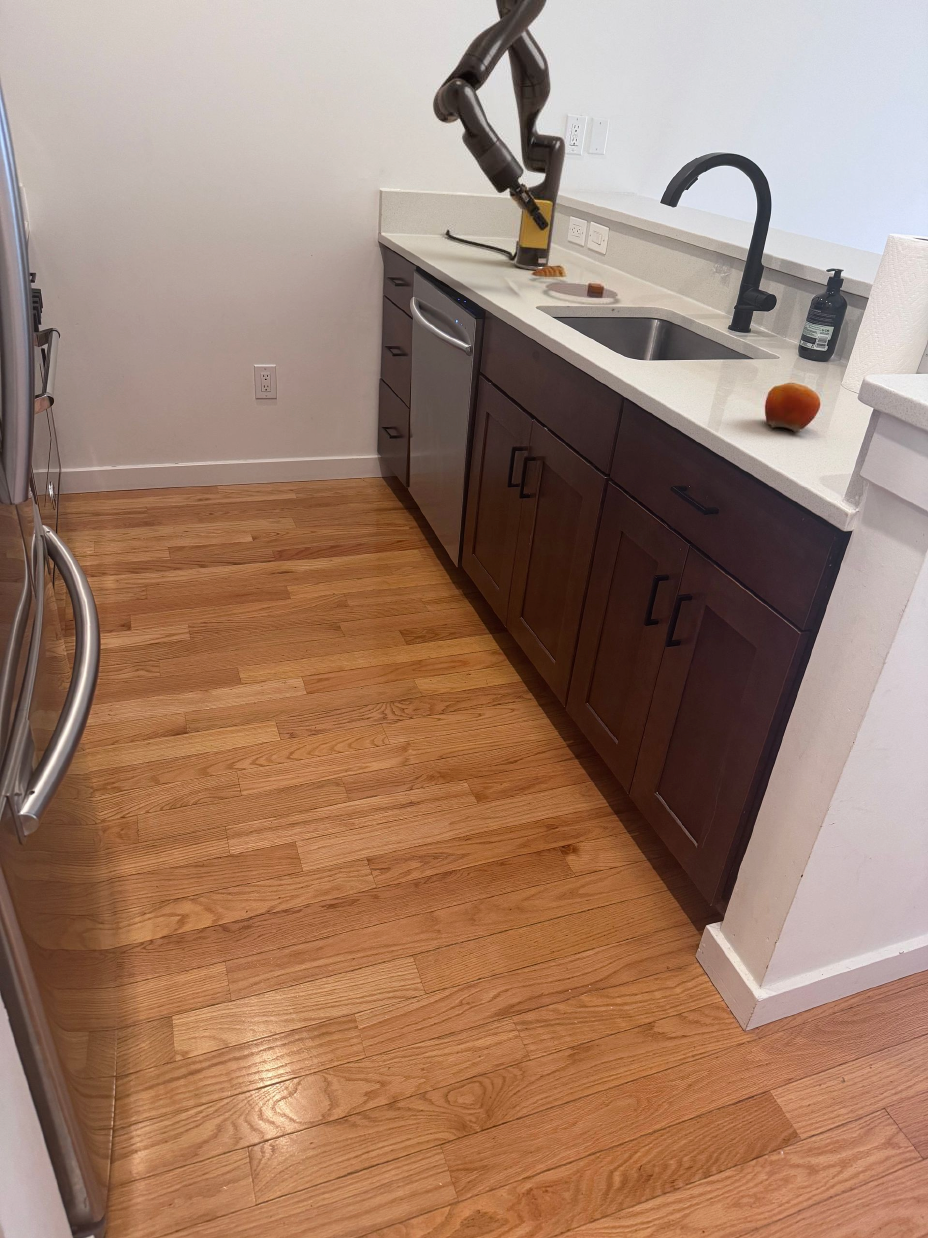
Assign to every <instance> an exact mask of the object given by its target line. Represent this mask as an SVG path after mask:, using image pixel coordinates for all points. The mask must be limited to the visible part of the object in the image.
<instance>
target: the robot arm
mask: <svg viewBox="0 0 928 1238" xmlns="http://www.w3.org/2000/svg"><path fill="white" fill-rule="evenodd" d="M547 1H548V0H495V5H496V9H497V14H498V18H499V20H498V21H497V22H495V23H493V24H491V25H490V26H489V27H487V28H485V30H483V31H481V32H480V33H479V34H478V35H477V36H476V37H475V38H474V39H473V40H472V41H471V43H470V44H469V45H468V47H467V49H466V50H465V51H464V53H463V55H462V57H461V58H460V60H459V61H458V63H457V65H456V67H455V68H454V69H453V71H452V72H451V73H450V74H449V75H448V76H447V78H446V79H445V80H444V81H443V83H442V84H441V86H440V87H439V88H438V90H437V91H436V92H435V94H434V97H433V101H432V109H433V113H434V115H435V118H437V119H438V120H439V121H440V122H441V123H443V124H452V123H455V122H457V121H458V120H460V121H459V122H461V125H462V127H463V128H464V131H463V132H462V135H461V139H462V142H463V144H464V146H465V147H466V149H467V150H468V151H469V153H470V154H471V155H472V157H473V158H474V160H475V162H476V163H477V164H478V166H479V168H480V170H481V171H482V173H483V174H484V175H485V177H486V178H487V179H488V181H489V183H490V184H491V185H492V186H493V188H494V189H495V191H496V192H497V193H498V194H502V193H504V192H506V191H508V190H509V191H508V192H509V197H510V199H511V200H513V202H515V204H516V205H517V207H518V208H519V209H520V210H521V214H520V224H519V232H518V240H516V243H515V251H514V254H513V253H512V252H511V251H509V250H506V249H504V248H500V247H498V246H492V245H490V244H485V243H480V242H476V241H472V240H468V239H463V238H461V237H457V236H454V235H452V234H451V230H450V229H449V230H450V231H449V230H448V229H446V232H445V235H446V236H447V238H449V239H451V240H454V241H457V242H460V243H463V244H467V245H471V246H476V247H479V248H485V249H488V250H493V251H496V252H500V253H503V254H505V255H508V256H509V260H510V261H512V262H514V261H515V266H516V267H517V268H520V269H524V270H530V271H536V270H537V269H541V268H542V267H544V266H549V262H550V255H551V247H552V239H553V232H554V224H555V217H556V209H557V202H558V201H557V200H558V196H559V192H560V185H561V180H562V174H563V169H564V168H563V167H564V164H565V158H566V157H565V156H566V143H565V140H564V138H563V137H561V136H558V135H551V134H543V133H539V132H538V129H537V121H538V119H539V116H540V114H541V112H542V111H543V109H544V107H545V106H546V104H547V102H548V100H549V97H550V95H551V90H552V89H551V88H552V85H551V77H550V76H551V75H550V68H549V67H550V66H549V63H548V60H547V57H546V55H545V53H544V51H543V50H542V48H541V47H540V45H539V43H538V42H537V40H536V39H535V37H534V36H533V34H532V33H531V31H530V29H529V27H530V26H531V25H532V24H533V23H534V22H535V20H536V19H537V18H538V17H539V16H540V15H541V14H542V11H543V10H544V8H545V7H546V5H547V4H546V3H547ZM506 52H507V56H508V60H509V66H510V67H509V68H510V75H511V81H512V88H513V94H514V99H515V103H516V104H515V105H516V111H517V117H518V125H519V139H520V152H521V153H520V154H521V160H522V161H521V162H522V165H523V167H524V168H523V167H522V165H521V163H520V162H519V161H518V160H517V158H516V157H515V155H514V154H513V152H512V151H511V150H510V148H509V147H508V145H507V144H506V143H505V142H504V140H503V139H502V138H501V137H500V136H499V135H498V133H497V132H496V130H495V129H494V127H493V126H492V125H491V123H490V122H489V121H488V118H487V115H486V112H485V109H484V107H483V104H482V102H481V100H480V98H479V95H478V93H477V91H478V90H480V89H481V88H482V87H483V86H484V85H485V83H486V82H487V81H488V79H489V78H490V76H491V74H492V72H493V71H494V69H495V68H496V66H497V64H498V63H499V61H500V60H501V59H502V57H503V56H504V55H505V53H506ZM524 169H525V170H526V171H527V172H530V173H534V174H535V173H536V174H542V175H544V179H543V180H542V181H541V182H540V183H538V184H536V185H533V186H532V185H531V186H528V187H527V185H526V184H524V183H523V182H522V183H520V181H519V180H520V178H522V176H523V175H524ZM535 200H546V201H550V202H552V203H553V204H552V212H551V219H550V227H549V234H548V242H547V249H545V248H533V247H522V246H521V245H520V244H519V239H520V230H521V221H522V213H523V211H527V212H528V214H529V215H530V217H531V218H532V219H533V220H534V221H535V223H536V224H537V226H538V227H539V228H540V230H542V231H543V230H544V229H545V228H547V227H548V225H549V224H548V222H547V221H546V220H545V218H544V217H543V215H542V214H541V212H540V209H539V206H537V204H536V203H535ZM532 205H533V206H534V207H535V208H534V209H533V210H532V211H530V210H529V208H530V207H531V206H532Z"/></svg>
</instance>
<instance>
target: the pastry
mask: <svg viewBox="0 0 928 1238" xmlns="http://www.w3.org/2000/svg"><path fill="white" fill-rule="evenodd" d="M566 274H567V273H566V271H565V267H563V266H562V265H561V264H559V265H548V266H544V267H542V268H541V269H537V270H533V272H532V276H535V277H540V278H567V275H566Z"/></svg>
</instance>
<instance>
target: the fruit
mask: <svg viewBox="0 0 928 1238" xmlns="http://www.w3.org/2000/svg"><path fill="white" fill-rule="evenodd" d="M820 407H821V398H820V396H819V395H818V394H817V392H816V391H815V390H813V389H812V388H810V387H809V386H807V385H804V384H800V383H797V382H786V383H783V384H780V385H774V387H772V388H771V389H770V390H769V391H768V392H767V396H766V399H765V403H764V415H765V421H766V423H767V424H768V425H770V426H771V429H773V428H786V429H789V430H791V431H793V432H794V433H795V435H796V436H798V431H800V430H804V429H805V428H806V427H808V425H810V424H811V422H812V421H813V420H814V419H815V418H816V416H817V415H818V413H819V411H820Z"/></svg>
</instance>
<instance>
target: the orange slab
mask: <svg viewBox="0 0 928 1238" xmlns="http://www.w3.org/2000/svg"><path fill="white" fill-rule="evenodd" d="M587 285H588V290H589V291H591V292H594V293H603V291H604V288H605V286H604V285H602V284H601V283H596V282H588V284H587Z"/></svg>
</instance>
